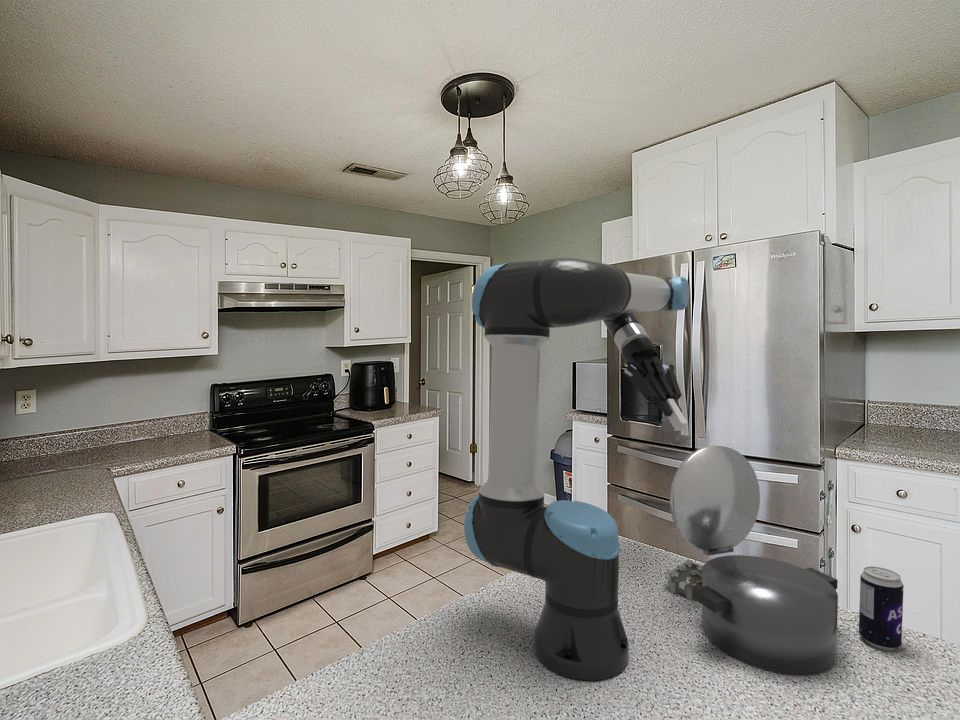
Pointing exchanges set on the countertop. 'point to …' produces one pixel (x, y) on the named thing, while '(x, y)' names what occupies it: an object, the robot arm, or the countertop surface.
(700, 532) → the lid
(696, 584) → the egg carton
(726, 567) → the cooker pot
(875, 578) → the beverage can
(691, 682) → the countertop surface
